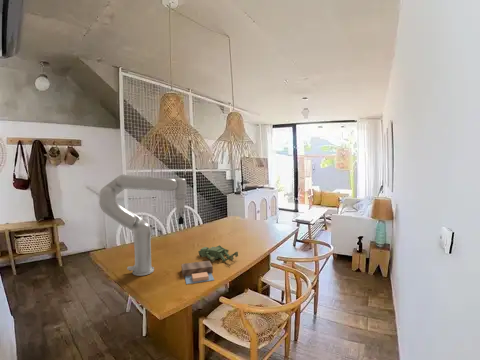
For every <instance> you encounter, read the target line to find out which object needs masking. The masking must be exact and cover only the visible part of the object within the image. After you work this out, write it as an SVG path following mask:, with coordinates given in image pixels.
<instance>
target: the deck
mask: <svg viewBox="0 0 480 360" xmlns="http://www.w3.org/2000/svg"><path fill="white" fill-rule="evenodd" d="M211 262H212V261H210V260H205V261H195V262H185V263H181V272H182V278H185V276H190V275H192V274H196V273H203V272H207V273H212V274H213V272H214V269H213V265H212V263H211Z"/></svg>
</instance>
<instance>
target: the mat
mask: <svg viewBox="0 0 480 360" xmlns="http://www.w3.org/2000/svg"><path fill="white" fill-rule="evenodd" d="M208 276H209V280H202V281H195V282H193V280H192V275H190V276H185V277H184V279H185V284H186V285H190V284H197V283H198V284H199V283H206V282H211V281H213V282H214V281H215V278H214V276H213V273H208Z"/></svg>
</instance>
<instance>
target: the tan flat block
mask: <svg viewBox="0 0 480 360" xmlns="http://www.w3.org/2000/svg"><path fill="white" fill-rule="evenodd" d="M192 280H193V282H195V281H202V280H209V276H208V273H207V272H203V273H196V274H192Z"/></svg>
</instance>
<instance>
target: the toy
mask: <svg viewBox="0 0 480 360" xmlns="http://www.w3.org/2000/svg"><path fill="white" fill-rule="evenodd" d="M229 251H230V250H229V249H226V248H224V247H223V246H221V245H218V246H212V247H207V246H204V247H201V249H200V250H198V254H199V256H200V257H202V258H207V259H209V261H210V262H212V263H213V262H215V261H216V260H218V259H221V261H222V262H224V263H225V262H227V261H228V260H229V259H230V261H233V260H235V259H234V256H235V258H237V257H238V256H239V251H235V252H234V253H232V254H229ZM225 257H226V258H225Z"/></svg>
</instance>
